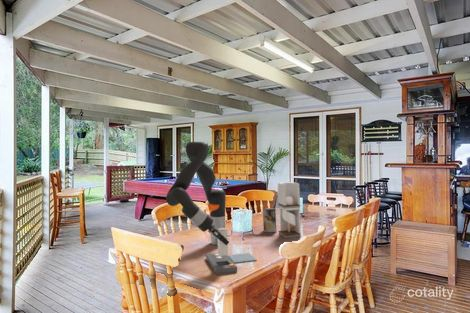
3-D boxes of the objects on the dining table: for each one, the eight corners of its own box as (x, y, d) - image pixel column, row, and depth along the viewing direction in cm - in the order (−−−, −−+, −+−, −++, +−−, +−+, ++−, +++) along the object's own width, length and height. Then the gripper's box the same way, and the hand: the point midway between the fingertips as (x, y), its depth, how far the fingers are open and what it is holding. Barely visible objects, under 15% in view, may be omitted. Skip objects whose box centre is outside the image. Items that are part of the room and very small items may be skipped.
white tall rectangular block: (217, 253, 158) (217, 228, 158) (225, 252, 159) (225, 227, 159) (219, 255, 154) (219, 230, 154) (227, 255, 155) (227, 229, 155)
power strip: (205, 256, 175) (204, 251, 175) (222, 254, 177) (222, 249, 177) (216, 274, 148) (216, 268, 148) (237, 272, 151) (237, 265, 151)
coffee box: (276, 230, 232) (276, 207, 232) (276, 232, 226) (275, 209, 226) (263, 230, 234) (263, 207, 234) (263, 232, 227) (262, 209, 227)
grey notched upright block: (279, 233, 222) (277, 182, 222) (293, 232, 224) (292, 182, 224) (285, 237, 211) (284, 184, 211) (300, 236, 213) (299, 183, 213)
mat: (228, 256, 175) (228, 255, 175) (249, 254, 178) (249, 252, 178) (234, 263, 163) (234, 262, 163) (256, 260, 166) (256, 259, 166)
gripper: (209, 216, 147) (235, 240, 151) (203, 211, 161) (227, 233, 164) (198, 228, 146) (225, 252, 149) (193, 222, 159) (218, 244, 163)
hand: (226, 242), depth 157 cm, fingers closed on white tall rectangular block, 4 cm apart
